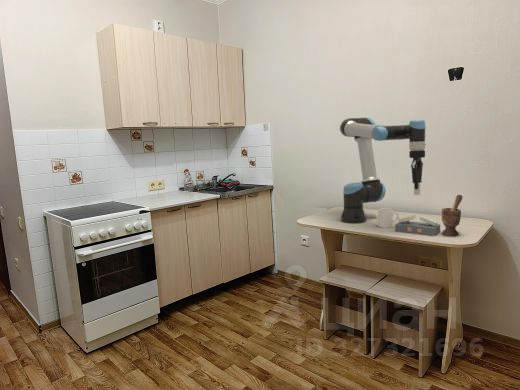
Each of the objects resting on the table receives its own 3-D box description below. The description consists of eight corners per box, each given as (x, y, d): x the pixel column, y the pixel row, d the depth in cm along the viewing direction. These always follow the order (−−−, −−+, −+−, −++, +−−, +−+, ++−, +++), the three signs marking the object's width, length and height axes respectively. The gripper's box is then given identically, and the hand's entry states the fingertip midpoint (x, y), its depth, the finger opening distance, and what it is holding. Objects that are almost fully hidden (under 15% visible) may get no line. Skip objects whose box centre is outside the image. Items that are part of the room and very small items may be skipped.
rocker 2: (419, 219, 192) (420, 216, 191) (421, 218, 195) (422, 215, 194) (434, 226, 188) (436, 222, 187) (436, 224, 190) (437, 221, 190)
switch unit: (395, 231, 198) (395, 221, 197) (401, 227, 205) (401, 218, 205) (434, 236, 185) (435, 226, 184) (440, 231, 193) (440, 221, 192)
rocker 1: (399, 222, 199) (398, 219, 199) (401, 221, 202) (400, 218, 202) (413, 219, 194) (412, 216, 194) (415, 218, 197) (414, 214, 197)
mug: (396, 229, 202) (396, 211, 201) (375, 226, 210) (375, 210, 209) (401, 226, 208) (401, 209, 207) (381, 224, 216) (381, 207, 215)
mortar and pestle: (445, 230, 195) (446, 193, 192) (463, 232, 189) (464, 194, 186) (439, 235, 186) (440, 196, 183) (457, 237, 181) (459, 197, 178)
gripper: (421, 150, 182) (420, 197, 185) (428, 149, 192) (428, 193, 195) (405, 150, 187) (405, 196, 190) (413, 149, 197) (413, 193, 200)
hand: (417, 194), depth 192 cm, fingers closed
